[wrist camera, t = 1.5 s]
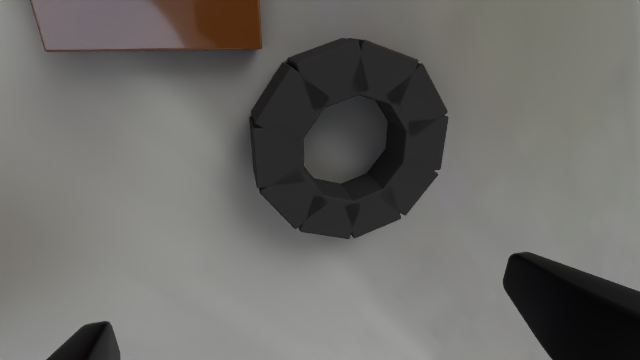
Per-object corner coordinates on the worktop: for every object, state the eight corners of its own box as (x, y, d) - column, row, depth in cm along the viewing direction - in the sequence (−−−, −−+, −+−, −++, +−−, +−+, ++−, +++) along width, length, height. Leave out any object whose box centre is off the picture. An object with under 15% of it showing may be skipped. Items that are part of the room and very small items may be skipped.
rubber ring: (258, 228, 20) (261, 251, 18) (243, 38, 16) (246, 40, 14) (413, 209, 22) (432, 228, 20) (434, 37, 18) (461, 39, 16)
